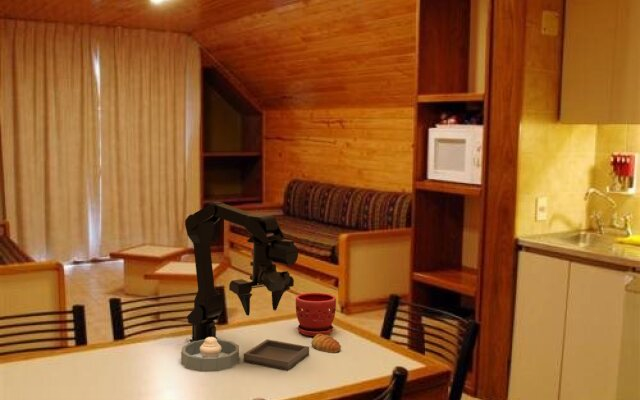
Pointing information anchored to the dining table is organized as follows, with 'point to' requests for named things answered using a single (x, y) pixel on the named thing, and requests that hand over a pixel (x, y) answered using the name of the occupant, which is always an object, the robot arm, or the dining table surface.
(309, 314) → the plant pot
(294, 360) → the tray
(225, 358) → the grey polygonal ring
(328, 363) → the dining table surface
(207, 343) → the muffin
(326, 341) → the pastry
